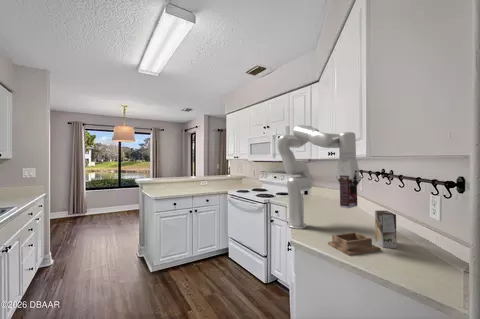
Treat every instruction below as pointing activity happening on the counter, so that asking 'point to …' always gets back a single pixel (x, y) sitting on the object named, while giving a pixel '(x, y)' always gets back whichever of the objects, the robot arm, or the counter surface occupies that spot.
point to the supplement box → (346, 193)
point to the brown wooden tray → (353, 243)
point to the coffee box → (385, 229)
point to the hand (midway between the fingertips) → (348, 192)
